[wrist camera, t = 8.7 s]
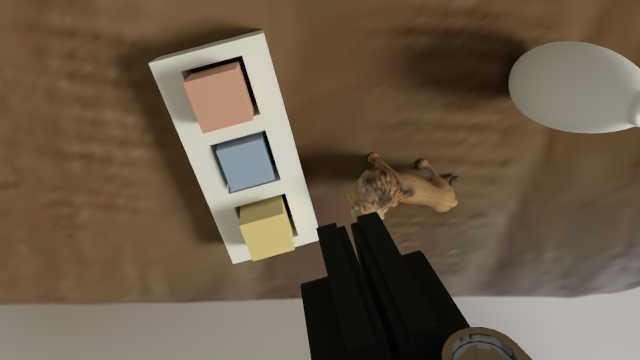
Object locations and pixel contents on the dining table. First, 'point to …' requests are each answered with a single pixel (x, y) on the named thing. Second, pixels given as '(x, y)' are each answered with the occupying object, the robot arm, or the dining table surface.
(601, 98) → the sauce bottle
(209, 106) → the terracotta button
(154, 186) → the dining table surface
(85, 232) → the dining table surface
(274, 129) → the button board
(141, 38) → the dining table surface
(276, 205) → the ochre button
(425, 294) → the robot arm
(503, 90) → the dining table surface
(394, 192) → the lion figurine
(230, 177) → the blue button
